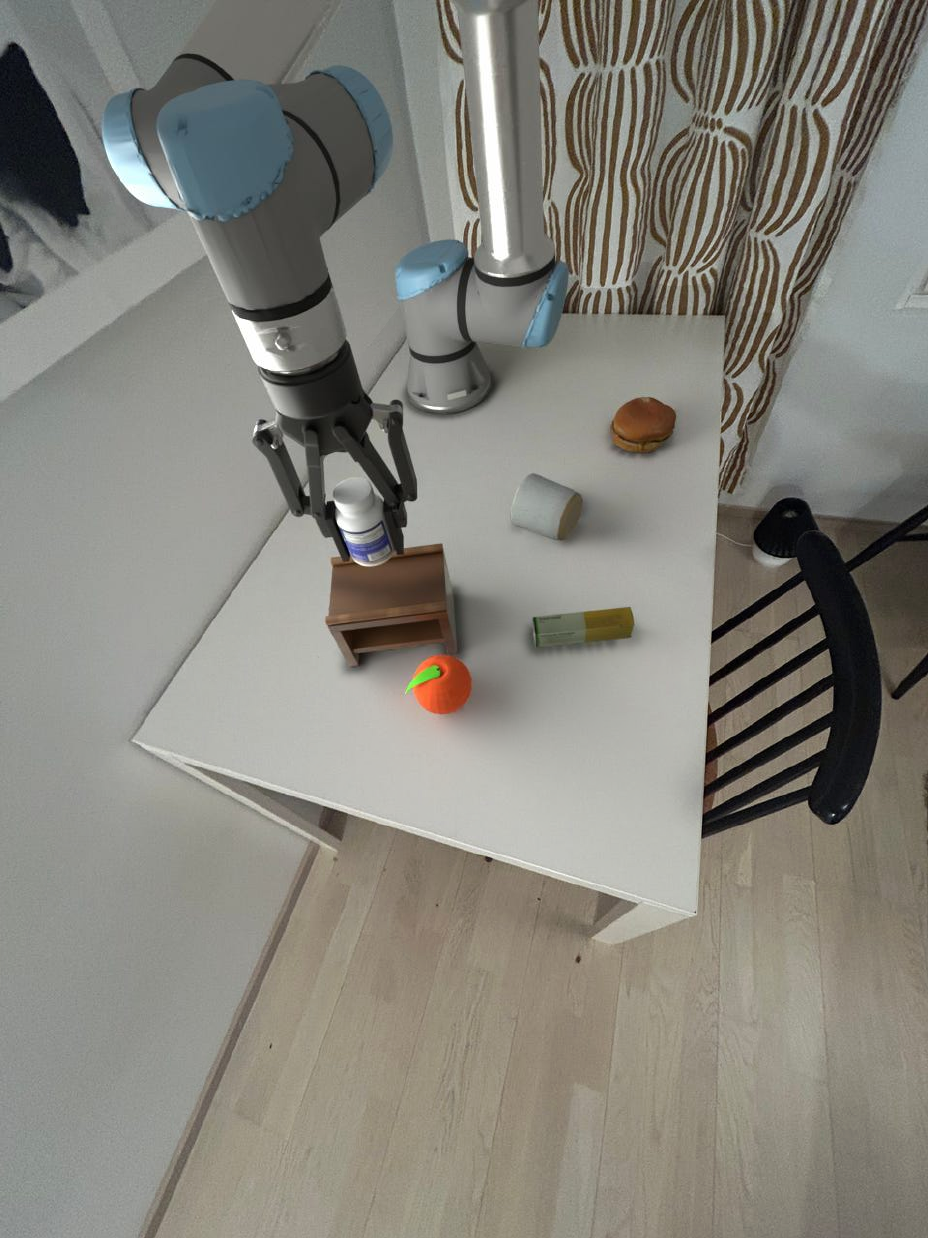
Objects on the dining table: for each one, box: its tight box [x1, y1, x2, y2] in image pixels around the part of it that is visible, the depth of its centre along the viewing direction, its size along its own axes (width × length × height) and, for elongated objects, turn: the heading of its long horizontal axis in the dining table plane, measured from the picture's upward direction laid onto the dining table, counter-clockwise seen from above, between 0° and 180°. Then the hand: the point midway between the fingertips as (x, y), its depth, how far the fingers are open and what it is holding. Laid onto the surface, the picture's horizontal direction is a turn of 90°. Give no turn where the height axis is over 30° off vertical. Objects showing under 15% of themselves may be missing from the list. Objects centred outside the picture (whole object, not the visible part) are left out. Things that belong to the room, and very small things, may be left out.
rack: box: [324, 542, 458, 667], centre depth 73 cm, size 10×14×10 cm
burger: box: [610, 396, 677, 454], centre depth 92 cm, size 10×9×5 cm
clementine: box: [404, 654, 473, 715], centre depth 68 cm, size 8×7×7 cm
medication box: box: [531, 606, 635, 649], centre depth 72 cm, size 12×3×4 cm, turn 92°
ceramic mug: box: [510, 473, 584, 541], centre depth 82 cm, size 11×8×8 cm
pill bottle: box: [332, 476, 396, 566], centre depth 61 cm, size 5×5×9 cm
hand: (373, 548), depth 65 cm, fingers closed on pill bottle, 5 cm apart
